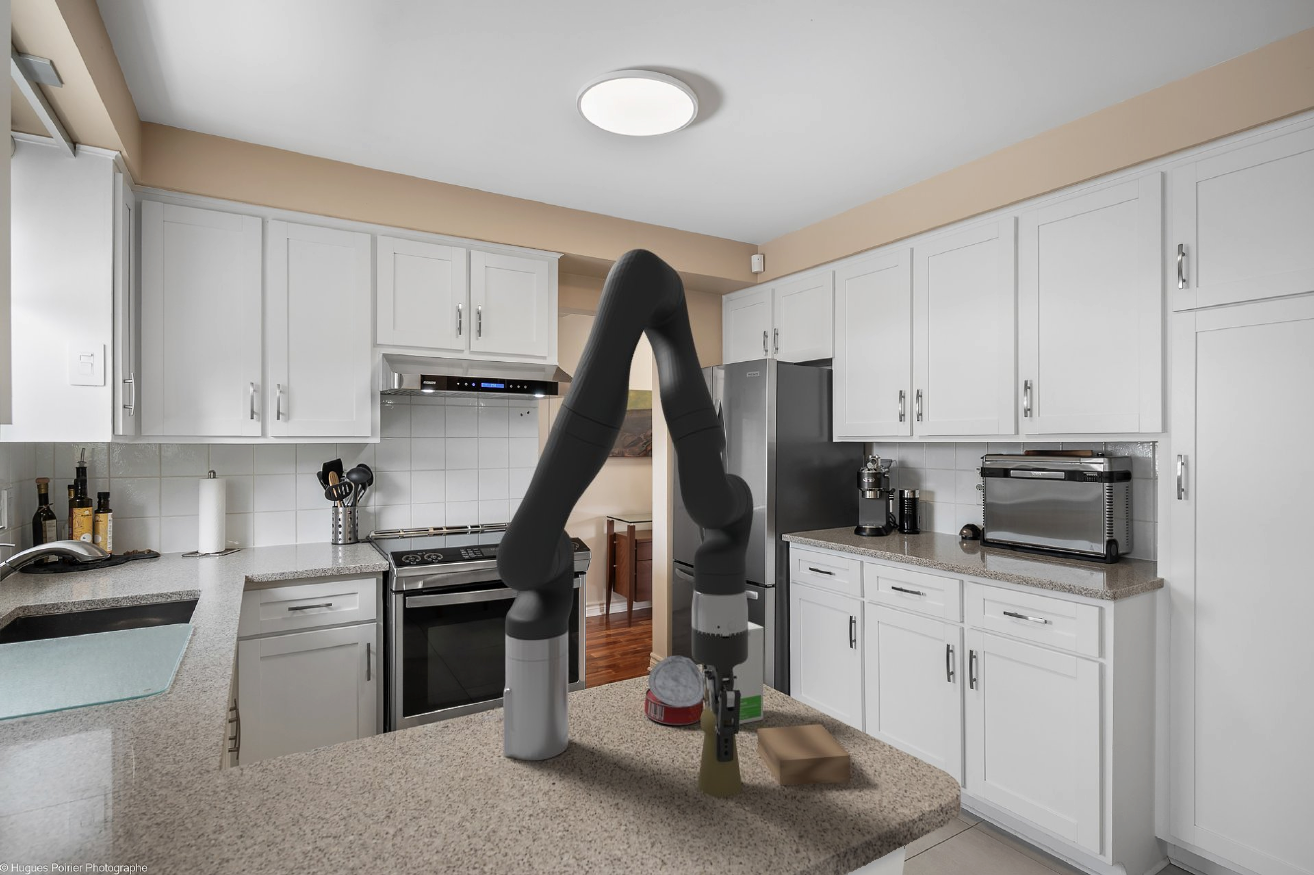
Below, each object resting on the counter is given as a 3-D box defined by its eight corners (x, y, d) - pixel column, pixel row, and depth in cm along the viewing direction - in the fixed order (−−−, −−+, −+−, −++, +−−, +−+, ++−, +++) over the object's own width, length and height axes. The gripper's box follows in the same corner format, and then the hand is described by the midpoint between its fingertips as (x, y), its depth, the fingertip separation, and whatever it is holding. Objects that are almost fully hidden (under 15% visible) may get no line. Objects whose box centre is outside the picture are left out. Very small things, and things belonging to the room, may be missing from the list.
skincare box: (723, 729, 108) (723, 633, 108) (702, 714, 114) (702, 623, 114) (765, 719, 112) (765, 626, 112) (743, 705, 118) (743, 617, 118)
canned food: (698, 735, 115) (728, 689, 114) (670, 750, 107) (702, 700, 105) (651, 690, 121) (679, 645, 119) (621, 700, 112) (651, 652, 111)
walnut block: (780, 790, 90) (780, 760, 90) (757, 755, 100) (757, 728, 100) (850, 784, 92) (850, 755, 92) (820, 750, 102) (821, 724, 102)
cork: (740, 804, 86) (740, 719, 86) (694, 799, 87) (694, 715, 87) (744, 781, 92) (744, 701, 92) (700, 776, 93) (700, 697, 93)
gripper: (683, 610, 96) (684, 728, 96) (701, 640, 82) (701, 779, 82) (735, 609, 97) (735, 726, 97) (761, 638, 83) (761, 775, 83)
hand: (719, 749), depth 89 cm, fingers closed on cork, 5 cm apart
